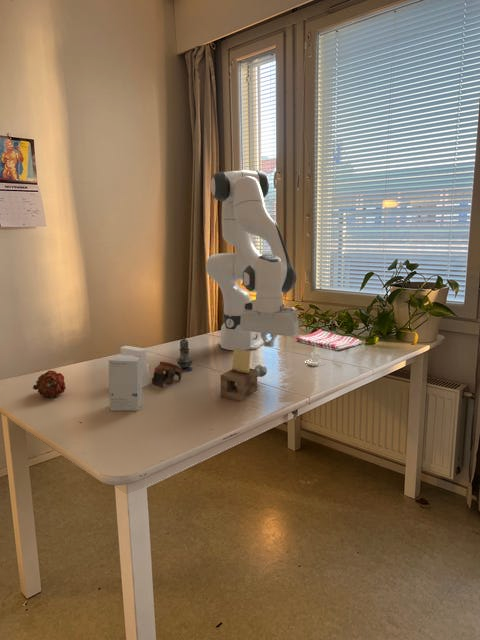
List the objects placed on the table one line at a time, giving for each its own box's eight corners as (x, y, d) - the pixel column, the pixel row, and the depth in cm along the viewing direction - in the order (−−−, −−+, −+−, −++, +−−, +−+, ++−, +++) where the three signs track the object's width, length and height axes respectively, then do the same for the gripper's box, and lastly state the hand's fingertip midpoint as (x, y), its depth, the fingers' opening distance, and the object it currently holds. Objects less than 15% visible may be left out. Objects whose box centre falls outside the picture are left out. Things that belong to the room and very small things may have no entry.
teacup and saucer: (314, 369, 170) (314, 358, 169) (298, 364, 176) (298, 353, 175) (330, 364, 175) (330, 353, 174) (314, 359, 181) (314, 349, 180)
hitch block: (238, 387, 151) (237, 366, 149) (257, 391, 147) (257, 369, 146) (220, 397, 142) (220, 375, 141) (240, 401, 139) (240, 378, 137)
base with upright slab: (155, 381, 156) (153, 346, 154) (136, 390, 149) (134, 353, 146) (134, 377, 161) (132, 343, 158) (115, 385, 153) (113, 349, 151)
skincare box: (109, 411, 132) (106, 360, 129) (115, 403, 138) (112, 354, 135) (139, 411, 132) (136, 360, 129) (143, 403, 138) (141, 354, 135)
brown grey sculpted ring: (145, 383, 156) (153, 359, 158) (171, 391, 160) (178, 368, 162) (156, 385, 146) (165, 359, 148) (184, 394, 150) (192, 369, 151)
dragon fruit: (56, 407, 139) (45, 401, 149) (77, 385, 143) (64, 381, 153) (35, 388, 136) (25, 383, 145) (57, 366, 139) (46, 363, 149)
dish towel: (319, 335, 218) (319, 328, 217) (362, 345, 202) (363, 337, 201) (294, 342, 207) (295, 334, 206) (339, 352, 190) (339, 344, 189)
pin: (256, 374, 156) (256, 363, 155) (266, 376, 154) (266, 365, 153) (230, 389, 143) (229, 377, 142) (241, 392, 140) (241, 379, 140)
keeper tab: (231, 371, 144) (233, 370, 145) (247, 374, 141) (249, 373, 142) (233, 348, 143) (235, 348, 144) (249, 351, 141) (251, 351, 141)
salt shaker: (190, 372, 165) (189, 339, 163) (174, 371, 167) (173, 338, 164) (195, 367, 171) (194, 335, 169) (179, 366, 172) (178, 334, 170)
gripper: (302, 306, 152) (301, 348, 154) (247, 301, 162) (247, 340, 165) (293, 309, 146) (293, 352, 149) (237, 304, 157) (237, 344, 159)
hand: (268, 346), depth 157 cm, fingers closed
